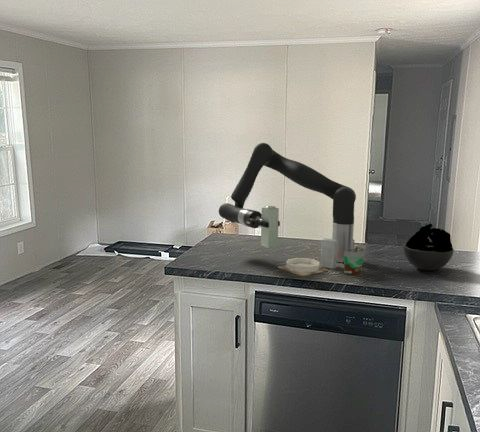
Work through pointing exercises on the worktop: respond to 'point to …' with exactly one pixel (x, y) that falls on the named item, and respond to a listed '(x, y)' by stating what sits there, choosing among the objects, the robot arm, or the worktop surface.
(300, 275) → the board
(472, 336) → the worktop surface
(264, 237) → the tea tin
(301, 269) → the bowl
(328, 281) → the worktop surface
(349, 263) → the food container
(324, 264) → the skincare box
